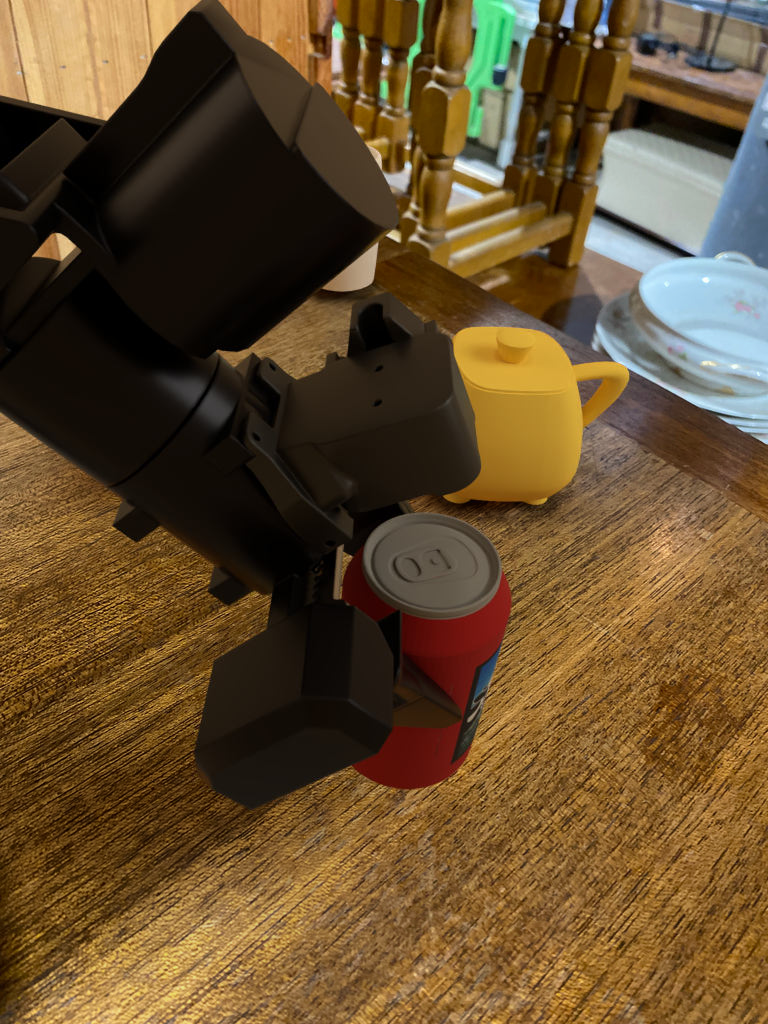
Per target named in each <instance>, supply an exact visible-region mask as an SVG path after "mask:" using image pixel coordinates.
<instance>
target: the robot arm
mask: <svg viewBox="0 0 768 1024" xmlns="http://www.w3.org/2000/svg"><path fill="white" fill-rule="evenodd" d="M367 146H368V145H367V144H366V142H365V141H364V139H363V138H362V136H361V135H360V133H359V132H358V130H357V129H356V127H355V126H354V124H353V123H352V122H351V120H350V119H349V118H348V116H347V115H346V114H345V113H344V111H343V109H342V108H340V106H339V105H338V103H337V102H336V101H335V99H333V97H332V95H330V93H329V92H328V91H327V90H326V89H325V88H324V86H323V85H321V83H319V82H318V81H316V82H315V83H314V84H313V85H312V84H311V83H310V82H309V81H308V79H306V78H305V77H304V76H303V75H302V74H301V73H300V72H299V71H298V69H296V68H295V67H294V66H293V65H292V64H291V63H290V62H289V61H288V60H287V59H286V58H284V57H283V56H282V55H281V54H280V53H279V52H278V51H276V50H275V49H273V48H272V47H271V46H270V45H268V44H266V43H265V42H264V41H262V40H259V39H258V38H256V37H254V36H252V35H249V34H247V33H246V31H245V30H244V29H243V28H242V27H241V25H240V24H239V23H238V22H237V20H236V19H235V18H234V17H233V16H232V14H231V13H230V12H229V11H228V9H227V8H225V6H224V5H223V4H222V3H221V1H220V0H199V1H198V2H197V3H196V4H195V5H194V6H193V7H192V8H190V9H189V10H188V11H187V12H186V13H185V14H184V16H182V18H181V19H180V20H179V21H178V22H177V24H175V26H174V27H173V28H172V30H170V32H169V33H168V34H167V35H166V36H165V38H164V39H162V41H161V43H160V44H159V45H158V47H157V48H156V50H155V51H154V53H153V55H152V57H151V60H150V62H149V64H148V66H147V68H146V71H145V73H144V75H143V77H142V78H141V80H140V81H139V83H138V84H137V86H136V87H134V89H132V91H131V93H130V94H129V95H128V96H127V97H126V98H125V99H124V100H123V101H122V102H121V104H120V105H119V106H118V107H117V108H116V109H115V111H113V113H112V114H111V115H110V116H109V117H108V119H107V120H105V119H102V118H97V117H94V116H90V115H89V116H88V115H86V114H85V115H84V114H81V113H76V112H73V111H68V110H65V109H60V108H56V107H51V106H48V105H43V104H39V103H35V102H31V101H27V100H23V99H18V98H14V97H10V96H6V95H1V94H0V414H2V415H3V416H4V417H6V418H7V419H8V420H10V421H11V422H13V423H14V424H16V425H17V426H18V427H20V428H21V429H22V430H24V431H25V432H26V433H29V434H30V435H31V436H32V437H34V439H37V440H38V441H39V442H40V443H42V444H44V445H45V446H46V447H48V448H49V449H50V450H52V451H53V452H55V453H56V454H57V455H59V456H60V457H62V458H63V459H65V461H67V462H69V463H70V464H72V465H73V466H74V467H76V468H77V469H78V470H80V471H81V472H82V473H84V474H85V475H87V476H88V477H90V478H91V479H92V480H94V481H95V482H96V483H98V484H99V485H101V486H102V487H104V489H106V490H108V491H109V492H110V493H112V494H113V495H114V496H116V497H117V498H119V499H120V500H121V502H120V505H119V508H118V510H117V512H116V515H115V517H114V520H113V522H112V524H111V527H113V528H114V529H116V530H117V531H118V532H120V533H121V534H123V535H124V536H126V537H127V538H128V539H130V540H131V541H133V542H134V543H136V544H138V543H139V542H140V541H142V540H143V539H144V538H146V537H147V536H148V535H150V534H151V533H152V532H154V531H155V530H156V529H158V528H161V529H162V530H164V531H165V532H166V533H168V535H171V536H172V537H173V538H175V539H176V540H177V541H179V542H180V543H182V544H183V545H184V546H186V547H187V548H188V549H190V550H192V551H193V552H194V553H196V554H197V555H198V556H200V557H201V558H203V560H206V561H207V562H208V563H209V564H211V565H213V569H212V572H211V576H210V580H209V583H208V588H207V593H208V594H210V595H211V596H213V597H214V598H216V599H217V600H219V601H220V602H221V603H223V604H224V605H225V606H227V607H230V606H232V605H234V604H235V603H237V602H238V601H240V600H242V599H243V598H245V597H246V596H248V595H249V594H251V593H253V592H256V593H257V594H259V595H260V596H268V597H270V603H269V604H270V605H269V609H268V616H267V622H266V629H264V630H263V631H260V633H257V634H255V635H254V636H252V637H250V638H249V639H247V640H245V641H244V642H242V643H241V644H238V645H237V646H235V647H233V648H232V649H230V650H229V651H227V652H225V653H223V654H222V655H220V656H218V657H216V658H215V659H214V660H213V663H212V667H211V672H210V675H209V676H210V677H209V682H208V686H207V691H206V696H205V700H204V704H203V708H202V713H201V718H200V723H199V727H198V732H197V735H196V740H195V744H194V745H195V746H194V750H193V756H194V763H195V764H194V765H195V770H196V776H197V777H198V778H199V779H200V780H201V781H202V782H203V783H204V784H205V785H207V787H208V788H210V789H211V791H214V792H216V793H218V794H220V795H221V796H223V797H225V798H227V799H229V800H231V801H233V802H234V803H236V804H238V805H240V806H242V807H244V808H246V809H248V810H250V811H254V810H256V809H258V808H261V807H263V806H265V805H267V804H269V803H271V802H274V801H276V800H279V799H280V798H283V797H285V796H287V795H289V794H291V793H292V794H293V793H294V792H296V791H298V790H301V789H303V788H305V787H307V786H309V785H312V784H314V783H315V782H318V781H321V780H322V779H325V778H327V777H329V776H332V775H334V774H337V773H338V772H341V771H343V770H345V769H348V768H351V767H352V765H354V764H356V763H359V762H361V761H363V760H365V759H368V758H370V757H372V756H374V755H377V754H378V752H379V751H380V749H381V748H382V746H383V745H384V743H385V741H386V740H387V738H388V737H389V735H390V733H391V732H392V730H393V726H401V727H419V728H437V729H442V728H446V727H449V726H451V725H453V724H455V723H458V722H460V721H461V720H462V710H461V709H460V708H459V706H458V705H457V704H456V703H455V702H454V701H453V700H452V698H451V697H450V696H449V695H448V694H447V693H446V692H445V691H444V690H443V689H442V688H441V687H440V686H439V685H438V684H437V683H435V682H434V681H433V680H432V679H431V678H430V677H429V676H428V675H427V674H426V673H425V672H423V671H422V670H421V669H420V668H419V667H418V666H417V665H416V664H415V663H414V662H413V661H411V660H410V659H409V658H408V657H407V656H406V655H405V654H404V653H403V652H402V612H401V610H400V609H398V610H396V611H395V612H393V613H391V614H389V615H387V616H385V617H384V618H382V619H380V620H378V621H376V622H375V621H374V620H373V619H371V618H370V617H369V616H368V615H366V614H365V613H364V612H362V611H361V610H360V609H358V608H357V607H356V606H355V605H350V604H349V603H347V602H346V601H345V600H343V599H341V588H342V575H343V574H342V573H343V558H344V553H345V554H347V555H348V556H350V557H352V558H353V556H354V555H355V554H356V553H357V552H358V551H359V550H360V549H361V548H362V547H363V546H364V545H365V543H366V541H367V539H368V537H369V536H370V534H371V533H372V532H373V531H374V530H375V529H376V528H377V527H378V526H380V525H381V524H383V523H384V522H386V521H388V520H390V519H392V518H395V517H397V516H401V515H405V514H410V513H416V512H415V510H414V508H413V507H412V505H411V502H410V500H414V499H418V498H421V497H424V496H428V495H436V496H439V497H443V496H444V495H448V494H451V493H455V492H458V491H460V490H462V489H464V488H466V487H467V486H469V485H470V484H471V483H473V482H474V481H475V479H476V478H477V477H478V475H479V473H480V471H481V458H480V454H479V450H478V443H477V435H476V427H475V420H476V419H475V413H474V410H473V408H472V405H471V402H470V399H469V396H468V393H467V390H466V387H465V385H464V382H463V379H462V376H461V373H460V370H459V367H458V364H457V362H456V359H455V356H454V347H453V341H452V339H453V338H451V336H450V335H447V334H446V333H443V332H441V331H440V329H439V327H438V324H437V320H436V319H432V320H428V321H426V322H424V321H423V320H422V319H421V318H420V317H419V316H418V315H416V314H415V313H414V312H413V311H412V310H411V309H409V307H407V306H406V305H405V304H404V303H403V302H402V301H401V300H399V299H398V298H397V297H396V296H394V294H393V293H391V292H390V291H385V292H382V293H379V294H376V295H373V296H370V297H367V298H364V299H361V300H359V301H356V302H353V304H352V305H351V312H350V320H349V329H348V341H347V351H346V355H345V356H341V355H339V354H338V352H337V351H333V352H329V353H327V354H326V356H325V364H324V367H322V368H321V369H320V370H318V371H315V372H313V373H310V374H308V375H305V376H303V377H301V378H298V379H297V378H295V377H293V376H292V375H291V374H289V373H288V372H287V371H285V370H284V368H282V367H281V365H279V364H278V363H277V362H276V361H275V360H274V359H272V358H270V357H269V356H268V357H267V356H265V357H263V358H262V359H261V358H260V357H259V356H258V355H257V354H256V353H255V352H254V351H252V352H251V353H250V354H249V355H247V356H246V357H245V358H243V359H242V360H241V361H240V362H239V363H238V364H236V365H235V366H234V365H232V364H231V363H230V362H229V361H228V360H227V359H226V358H225V357H224V356H222V355H221V353H219V352H218V351H221V352H229V353H239V352H242V351H245V350H249V349H250V348H251V347H253V345H255V344H256V343H257V342H258V341H260V340H261V339H262V338H263V337H264V336H266V335H267V334H268V333H269V332H271V330H273V329H274V328H275V327H277V326H278V325H279V324H281V322H283V321H284V320H285V319H287V318H288V317H289V316H290V315H291V314H292V313H294V312H295V311H297V309H299V308H300V307H301V306H302V305H304V304H305V303H306V302H307V301H308V300H310V299H311V298H312V297H313V296H314V295H316V294H317V293H318V292H319V291H320V290H321V289H322V288H323V287H324V286H325V285H326V284H328V283H329V282H330V281H331V280H333V279H334V278H335V277H336V276H337V275H339V274H340V273H341V272H342V271H344V270H345V269H346V268H347V267H348V266H350V265H351V264H352V263H353V262H354V261H356V260H357V259H358V258H359V257H361V256H362V255H363V254H364V253H365V252H367V251H368V250H369V249H370V248H371V247H373V246H374V245H375V244H376V243H378V244H379V242H381V241H382V240H383V239H384V238H385V237H386V236H387V235H389V234H390V233H391V232H392V231H394V230H395V229H396V227H397V226H398V224H399V221H400V215H399V210H398V205H397V201H396V199H395V197H394V194H393V192H392V189H391V186H390V184H389V183H388V180H387V178H386V177H385V174H384V173H383V169H382V170H381V169H380V167H379V165H378V163H377V162H376V160H375V158H374V157H373V155H372V153H371V152H370V150H369V148H368V147H367ZM53 234H59V235H62V236H64V237H65V238H66V239H67V240H69V241H70V242H71V243H72V244H73V245H74V246H75V247H74V248H72V250H71V251H70V252H69V253H68V254H67V255H66V256H65V257H64V258H63V259H62V260H59V259H55V258H50V257H45V256H34V255H35V254H36V253H37V252H38V251H39V249H41V247H42V246H43V245H44V244H45V242H46V241H47V240H48V239H49V238H50V237H51V236H52V235H53Z"/></svg>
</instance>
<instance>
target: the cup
mask: <svg viewBox="0 0 768 1024" xmlns="http://www.w3.org/2000/svg"><path fill="white" fill-rule="evenodd" d="M367 147H368V148H369V150H370V152H371V153H372V155H373V157H374V158H375V160H376V162H377V163H378V165H379V167H380V169H381V170H382V171H383V166H382V165H383V162H382V154H381V153H380V152H379V150H377V149H376V148H374V147H373V146H370V145H367ZM378 248H379V242H378V243H376V244H375V245H374V246H373V247H371V248H370V249H369V250H368V251H367V252H365V253H364V254H363V255H362V256H361V257H359V258H358V259H357V260H356V261H354V262H353V263H352V264H351V265H350V266H348V267H347V268H346V269H345V270H344V271H342V272H341V273H340V274H339V275H337V276H336V277H335V278H334V279H333V280H331V281H330V282H329V283H328V284H326V285H325V286H324V287H323V288H322V289H323V290H326V291H333V292H353V291H357V290H358V291H359V290H362V289H364V288H366V287H368V286H370V285H371V284H372V283H373V282H374V280H375V274H376V273H375V272H376V266H377V257H378V250H379V249H378Z"/></svg>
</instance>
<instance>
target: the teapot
mask: <svg viewBox="0 0 768 1024" xmlns="http://www.w3.org/2000/svg"><path fill="white" fill-rule="evenodd" d="M451 339H452V341H453V347H454V356H455V359H456V362H457V364H458V367H459V370H460V373H461V376H462V379H463V382H464V385H465V387H466V390H467V393H468V396H469V399H470V402H471V405H472V408H473V410H474V413H475V419H476V420H475V427H476V435H477V443H478V450H479V454H480V458H481V471H480V473H479V475H478V477H477V478H476V479H475V481H474V482H473V483H471V484H470V485H469V486H467V487H466V488H464V489H462V490H460V491H458V492H455V493H451V494H448V495H444V496H442V497H443V498H444V499H445V500H446V501H448V502H451V503H454V504H465V503H467V502H470V501H471V500H476V501H477V500H478V501H487V502H522V503H525V504H528V505H531V506H539V505H543V504H544V503H546V502H547V501H548V498H550V497H551V496H553V495H555V494H556V493H558V492H559V491H562V489H563V488H564V487H566V486H567V485H568V484H570V483H571V481H572V479H573V478H574V477H575V475H576V474H577V470H578V467H579V463H580V459H581V453H582V446H583V434H584V433H583V431H584V429H585V428H586V427H587V426H589V425H590V424H591V423H592V422H594V420H596V419H597V418H598V417H600V416H601V415H602V414H603V413H604V412H605V411H606V410H608V408H610V406H611V405H613V404H614V403H615V402H616V401H617V399H618V398H620V396H621V394H622V393H623V392H624V390H625V389H626V387H627V385H628V383H629V380H630V371H629V370H628V368H627V366H626V365H624V364H623V363H620V362H617V361H593V362H592V361H591V362H586V363H578V364H573V365H572V361H571V360H570V358H569V355H568V354H567V353H566V351H565V350H564V348H563V347H562V346H561V344H559V342H558V341H557V340H555V338H553V337H552V336H551V335H549V334H547V333H546V332H544V331H541V330H537V329H530V328H523V327H514V326H513V327H511V326H510V327H509V326H471V327H466V328H463V329H461V330H459V331H458V332H457V333H456V334H455V335H454V336H453V337H452V338H451ZM592 380H602V381H601V383H600V385H599V387H598V388H597V390H596V391H595V392H594V394H593V395H592V396H591V397H590V398H589V399H588V401H586V403H585V404H584V405H583V406H582V402H581V396H580V390H579V386H578V382H583V381H592Z"/></svg>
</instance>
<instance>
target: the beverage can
mask: <svg viewBox="0 0 768 1024" xmlns="http://www.w3.org/2000/svg"><path fill="white" fill-rule="evenodd" d="M340 599H343V600H345V601H346V602H347V603H349V604H350V605H355V606H356V607H357V608H358V609H360V610H361V611H362V612H364V613H365V614H366V615H368V616H369V617H370V618H371V619H373V620H374V621H375V622H376V621H378V620H380V619H382V618H384V617H385V616H387V615H389V614H391V613H393V612H395V611H396V610H398V609H400V610H401V612H402V652H403V653H404V654H405V655H406V656H407V657H408V658H409V659H410V660H411V661H413V662H414V663H415V664H416V665H417V666H418V667H419V668H420V669H421V670H422V671H423V672H425V673H426V674H427V675H428V676H429V677H430V678H431V679H432V680H433V681H434V682H435V683H437V684H438V685H439V686H440V687H441V688H442V689H443V690H444V691H445V692H446V693H447V694H448V695H449V696H450V697H451V698H452V700H453V701H454V702H455V703H456V704H457V705H458V706H459V708H460V709H461V710H462V720H461V721H460V722H458V723H455V724H453V725H451V726H449V727H446V728H442V729H437V728H419V727H401V726H393V730H392V732H391V733H390V735H389V737H388V738H387V740H386V741H385V743H384V745H383V746H382V748H381V749H380V751H379V752H378V754H377V755H374V756H372V757H370V758H368V759H365V760H363V761H361V762H359V763H356V764H354V765H352V766H351V767H352V768H353V769H354V770H355V771H356V772H357V773H359V774H360V775H362V776H363V777H364V778H366V779H367V780H369V781H371V782H373V783H376V784H378V785H381V786H384V787H387V788H392V789H397V790H418V789H424V788H429V787H433V786H435V785H437V784H439V783H442V782H444V781H445V780H446V779H449V778H450V777H451V776H453V775H454V774H455V773H456V772H457V771H458V770H459V769H460V768H461V766H462V765H463V764H464V763H465V761H466V759H467V758H468V756H469V754H470V751H471V748H472V745H473V742H474V739H475V736H476V733H477V730H478V727H479V723H480V720H481V718H482V713H483V710H484V707H485V703H486V700H487V697H488V694H489V690H490V687H491V683H492V680H493V678H494V677H493V676H494V674H495V673H494V672H495V669H496V666H497V662H498V659H499V655H500V652H501V648H502V644H503V641H504V637H505V633H506V629H507V627H508V622H509V618H510V615H511V611H512V604H513V603H512V602H513V600H512V592H511V587H510V583H509V581H508V579H507V576H506V574H505V572H504V570H503V564H502V559H501V556H500V554H499V551H498V549H497V547H496V546H495V545H494V543H493V542H492V541H491V539H489V537H488V536H487V535H485V533H484V532H483V531H481V530H480V529H478V528H477V527H476V526H474V525H472V524H470V523H469V522H466V521H464V520H462V519H460V518H457V517H455V516H451V515H447V514H442V513H438V512H437V513H436V512H415V513H410V514H405V515H401V516H397V517H395V518H392V519H390V520H388V521H386V522H384V523H383V524H381V525H380V526H378V527H377V528H376V529H375V530H374V531H373V532H372V533H371V534H370V536H369V537H368V539H367V541H366V543H365V545H364V546H363V547H362V548H361V549H360V550H359V551H358V552H357V553H356V554H355V555H354V556H353V557H352V558H351V559H350V560H349V562H348V564H347V566H346V568H345V571H344V574H343V577H342V583H341V595H340Z"/></svg>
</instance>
